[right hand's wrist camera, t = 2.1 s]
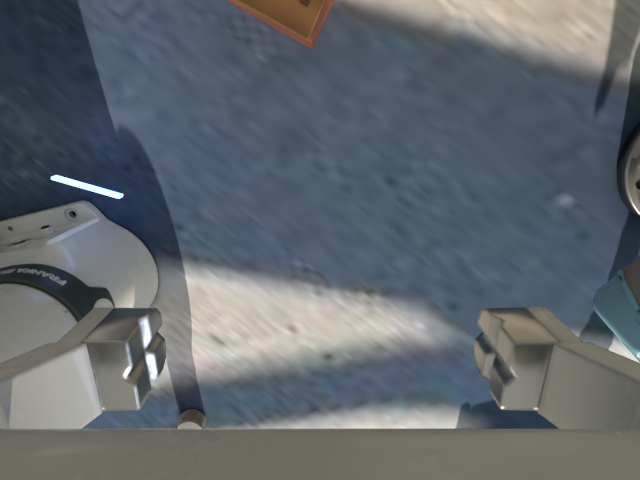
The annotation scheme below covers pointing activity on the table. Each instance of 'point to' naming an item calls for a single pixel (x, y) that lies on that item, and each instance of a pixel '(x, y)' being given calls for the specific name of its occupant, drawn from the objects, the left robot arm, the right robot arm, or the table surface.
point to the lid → (289, 13)
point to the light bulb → (191, 420)
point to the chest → (308, 43)
